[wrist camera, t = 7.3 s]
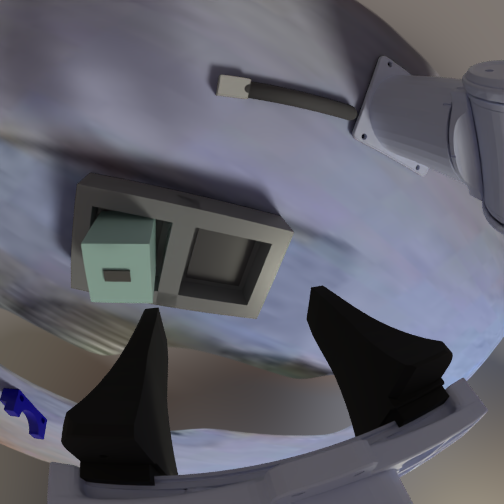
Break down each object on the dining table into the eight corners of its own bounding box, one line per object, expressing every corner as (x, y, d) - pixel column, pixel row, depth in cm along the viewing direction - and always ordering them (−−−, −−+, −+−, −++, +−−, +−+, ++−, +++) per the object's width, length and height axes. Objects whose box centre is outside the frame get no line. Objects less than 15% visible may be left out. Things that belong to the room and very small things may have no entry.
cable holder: (4, 387, 26) (-3, 408, 23) (19, 388, 27) (13, 410, 23) (31, 417, 30) (27, 437, 27) (47, 418, 31) (43, 439, 27)
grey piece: (280, 216, 23) (294, 232, 21) (248, 297, 26) (256, 318, 24) (90, 172, 18) (77, 184, 15) (80, 267, 21) (71, 287, 19)
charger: (156, 211, 19) (149, 245, 15) (156, 261, 21) (152, 304, 17) (101, 211, 18) (80, 244, 14) (106, 261, 20) (90, 303, 16)
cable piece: (353, 106, 20) (361, 106, 19) (350, 122, 21) (358, 123, 20) (218, 76, 17) (221, 74, 16) (215, 95, 18) (217, 94, 17)
